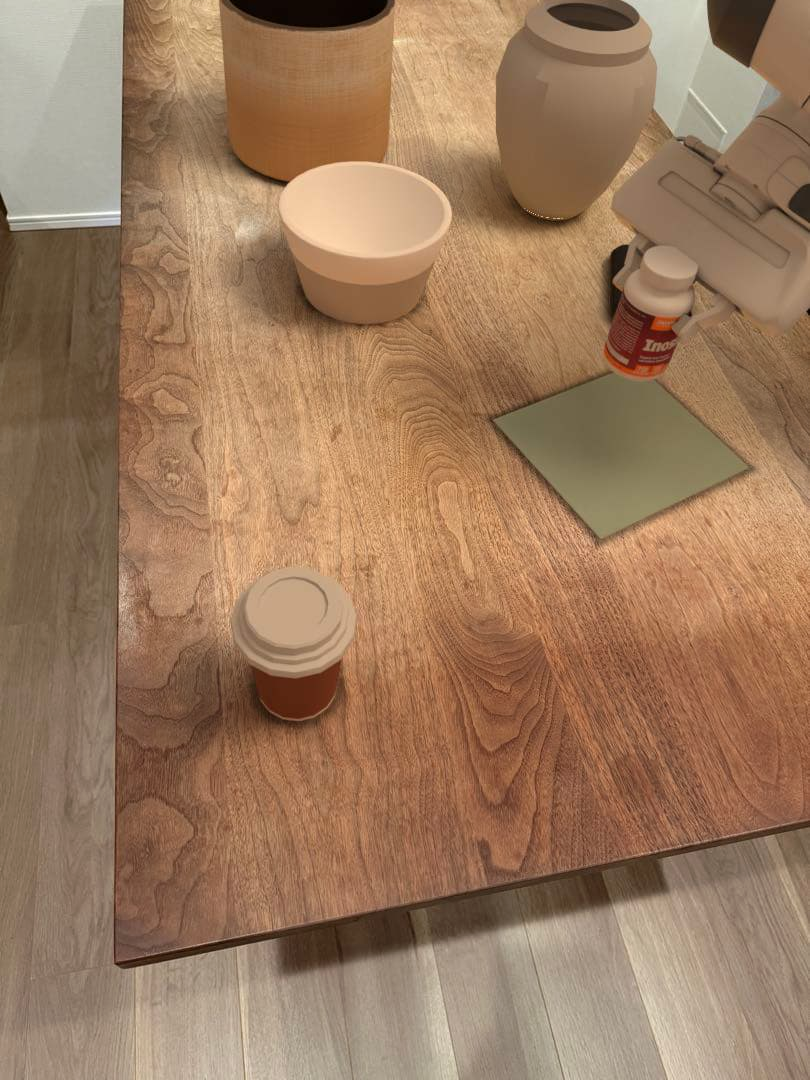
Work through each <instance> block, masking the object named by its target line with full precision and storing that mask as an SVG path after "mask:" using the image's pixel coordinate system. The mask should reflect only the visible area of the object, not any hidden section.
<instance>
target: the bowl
mask: <svg viewBox="0 0 810 1080" xmlns="http://www.w3.org/2000/svg"><path fill="white" fill-rule="evenodd" d="M277 204H278V208H277V209H278V215H279V219H280V221H281V224H282V228H283V231H284V234H285V237H286V241H287V244H288V246H289V249H290V252H291V255H292V259H293V262H294V265H295V268H296V270H297V271H296V272H297V274H298V277H299V281H300V283H301V287H302V290H303V293H304V296H305V297H306V299H307V301H308V302H309V303H310V304H311V305H312V306H313V307H314V308H315V309H316V310H317V311H319V312H320V313H322V314H323V315H326V316H327V317H329V318H332V319H335V320H337V321H341V322H345V323H350V324H356V325H357V324H358V325H375V324H383V323H388V322H391V321H395V320H397V319H399V318H402V317H404V316H405V315H406V314H408V313H409V312H411V311H412V310H413V309H414V308H415V307H416V306H417V304H418V303H419V301H420V299H421V297H422V295H423V292H424V290H425V288H426V285H427V283H428V280H429V277H430V275H431V272H432V270H433V267H434V265H435V263H436V260H437V258H438V256H439V255H440V252H441V249H442V247H443V244H444V243H445V240H446V237H447V235H448V232H449V230H450V229H451V225H452V223H453V222H452V221H453V211H452V207H451V203H450V201H449V199H448V198H447V196H446V195H445V193H444V192H443V191H442V190H441V189H440V188H439V187H438V186H437V185H436V184H434V183H433V182H432V181H431V180H429V179H428V178H426V177H424V176H422V175H420V174H418V173H416V172H414V171H412V170H408V169H406V168H403V167H400V166H396V165H391V164H387V163H382V162H380V163H375V162H359V161H350V162H339V163H333V164H328V165H323V166H320V167H317V168H314V169H311V170H308V171H306V172H304V173H302V174H301V175H299V176H297V177H296V178H294V179H293V180H292V181H291V182H290V183H287V184H286V185H285V187H284V188H283V190H282V191H281V194H280V197H279V200H278V202H277Z"/></svg>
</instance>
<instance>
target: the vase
mask: <svg viewBox="0 0 810 1080" xmlns="http://www.w3.org/2000/svg"><path fill="white" fill-rule="evenodd" d="M652 39H653V31H652V28H651V26H650V25H649V24H648V23H647V22H646V20H645V19H644V18H643V17H642V16H641V15H640V14H639V11H638V10H637V9H636V8H635V7H634V6H632V5H631V4H629V3H628V2H627V1H624V0H542V1H541V2H539V3H537V4H535V5H533V6H532V7H530V8H529V9H528V10H527V12H526V13H525V15H524V26H522V28H520V30H518V31H517V32H516V33H515V34H514V35H513V36H512V37H511V38H510V39H509V40H508V42H507V44H506V47H505V50H504V53H503V54H502V55H503V56H502V58H501V60H500V63H499V67H498V69H497V72H496V74H495V135H496V140H497V146H498V151H499V157H500V163H501V168H502V172H503V174H504V176H505V179H506V181H507V183H508V186H509V189H510V191H511V193H512V196H513V197H514V198H515V200H516V201H517V203H518V205H519V206H520V207H521V208H522V210H524V211H525V212H526V213H528V214H529V215H530V216H531V215H532V216H533V217H536V218H537V219H538V218H539V219H542V220H547V221H565V220H569V219H572V218H575V217H576V216H578V215H580V214H581V213H583V212H584V211H586V210H587V209H589V207H591V206H592V205H593V204H594V203H595V202H596V201H597V200H598V199H600V197H601V196H602V195H604V193H605V192H606V191H607V190H608V188H609V187H610V186H611V185H612V183H613V182H614V180H615V179H616V177H617V175H618V174H619V173H620V171H621V170H622V168H624V166H625V164H626V163H627V161H628V160H629V159H630V157H631V155H633V152H634V150H635V148H636V146H637V143H638V142H639V139H640V137H641V135H642V132H643V131H644V128H645V126H646V124H647V122H648V120H649V117H650V115H651V113H652V111H653V109H654V105H655V101H656V100H655V99H656V87H657V77H658V65H657V61H656V59H655V57H654V55H653V52H652V50H651V48H650V45H651V42H652ZM524 208H525V209H524ZM527 210H528V211H527ZM529 211H530V212H529ZM531 212H532V213H531ZM533 213H534V214H533ZM535 214H536V215H535ZM538 215H539V216H538ZM541 216H543V217H541ZM546 217H549V218H546ZM569 217H570V218H569ZM553 218H556V219H553ZM557 218H560V219H557ZM561 218H563V219H561Z"/></svg>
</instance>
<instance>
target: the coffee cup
mask: <svg viewBox="0 0 810 1080" xmlns="http://www.w3.org/2000/svg"><path fill="white" fill-rule="evenodd" d="M357 621H358V614H357V611H356V608H355V605H354V602H353V599H352V596H351V595H350V594H349V592H347V591H346V590H345V588H344V587H343V586H342V585H341V584H340V582H338V581H337V580H336V579H334V578H332V577H331V576H328V575H326V574H324V573H322V572H321V571H318V570H316V569H314V568H312V567H304V566H297V565H291V566H286V567H280V568H275V569H273V570H270V571H269V572H267V573H266V574H264V575H262V576H260V577H259V578H257V579H255V580H254V581H252V582H250V583H249V584H248V585H247V587H246V588H245V589H244V590H243V592H242V593H241V594H240V595H239V596H238V598H237V599H236V600H235V603H234V607H233V611H232V613H231V618H230V628H231V632H232V636H233V641H234V645H235V648H236V649H237V650H238V652H239V653H240V654H241V656H242V657H243V659H245V661H246V662H247V663H248V664H249V665H250V668H251V672H252V675H253V679H254V681H255V685H256V689H257V692H258V695H259V699H260V702H261V703H262V705H263V706H264V707H265V708H266V710H267V711H268V712H269V713H270V714H272V715H273V716H276V717H278V718H280V719H282V720H285V721H292V722H293V721H294V722H301V721H306V720H310V719H314V718H316V717H317V716H318V715H320V714H322V713H324V712H325V711H326V710H327V709H328V708H329V707H330V705H331V704H332V703H333V701H334V699H335V697H336V693H337V686H338V681H339V676H340V670H341V665H342V661H343V658H344V657H345V655H346V653H347V651H348V650H349V649H350V647H351V646H352V644H353V643H354V641H355V635H356V629H357Z"/></svg>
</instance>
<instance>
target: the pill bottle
mask: <svg viewBox="0 0 810 1080" xmlns="http://www.w3.org/2000/svg"><path fill="white" fill-rule="evenodd" d="M697 270H698V264H697V263H695V262H694V261H693V260H691V259H690V258H689V257H687V256H686V255H685V254H683V253H682V252H681V251H679V250H678V249H677V248H675V247H672V246H655V247H652V248H650V249H648V250H647V251H646V252H645V254H644V256H643V259H642V262H641V264H640V269H638V270H636V271H635V272H633V273H632V274H631V275H630V276H629V277H628V279H627V281H626V283H625V286H624V288H623V292H622V295H621V298H620V301H619V304H618V307H617V310H616V313H615V316H614V319H613V318H612V321H611V325H610V327H609V330H608V333H607V337H606V340H605V342H604V345H603V350H602V357H603V360H604V363H605V364H606V366H607V367H608V369H609V370H611V371H612V373H616V374H618V375H619V376H621V377H624V378H626V379H629V380H633V381H650V380H656V379H658V378H660V377H661V376H663V374H665V372H666V371H667V369H668V367H669V365H670V362H671V360H672V357H673V355H674V352H675V350H676V348H677V346H678V343H679V341H680V339H679V338H678V337H677V336H676V335H675V334H673V332H672V331H671V330H670V328H671V326H672V324H673V323H674V322H677V321H678V318H679V317H680V316H681V315H682V314H683V313H686V314H687V315H688V316H689V314H690V311H691V312H692V309H693V306H694V303H695V300H696V292H695V291H696V290H695V289H694V285H693V284H692V283H693V282H694V279H695V276H696V273H697Z"/></svg>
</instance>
